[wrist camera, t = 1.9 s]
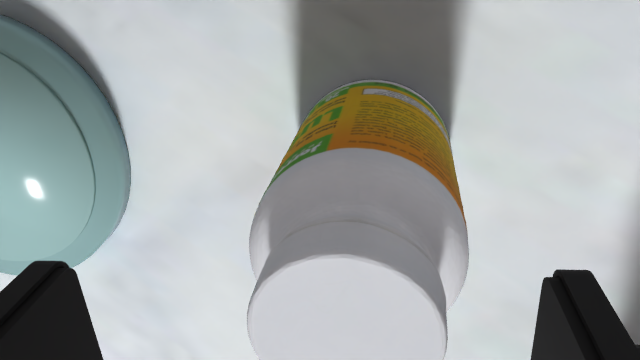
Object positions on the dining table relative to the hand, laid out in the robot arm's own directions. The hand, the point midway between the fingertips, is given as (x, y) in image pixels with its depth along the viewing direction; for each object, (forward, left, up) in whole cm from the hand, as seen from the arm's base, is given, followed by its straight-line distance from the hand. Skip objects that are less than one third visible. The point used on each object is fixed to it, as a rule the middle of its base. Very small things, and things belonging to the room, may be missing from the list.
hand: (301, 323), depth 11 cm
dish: (+14, 0, -10) cm, 17 cm away
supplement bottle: (-1, 0, -10) cm, 10 cm away
